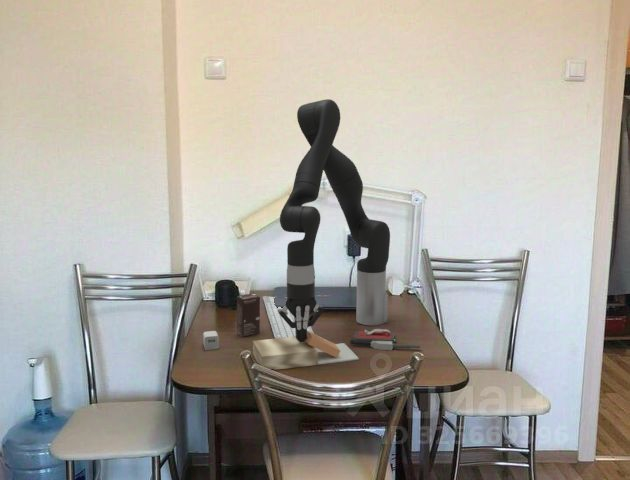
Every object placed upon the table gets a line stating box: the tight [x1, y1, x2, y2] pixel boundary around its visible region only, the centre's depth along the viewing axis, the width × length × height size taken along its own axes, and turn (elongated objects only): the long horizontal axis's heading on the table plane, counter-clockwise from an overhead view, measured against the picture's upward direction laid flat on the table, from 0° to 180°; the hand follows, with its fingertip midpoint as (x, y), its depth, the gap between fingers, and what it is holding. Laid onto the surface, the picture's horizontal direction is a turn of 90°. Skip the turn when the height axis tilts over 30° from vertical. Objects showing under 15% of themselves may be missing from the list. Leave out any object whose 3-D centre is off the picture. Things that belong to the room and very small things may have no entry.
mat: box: [316, 342, 360, 365], centre depth 168 cm, size 12×12×1 cm
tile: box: [306, 331, 340, 358], centre depth 165 cm, size 9×6×2 cm, turn 105°
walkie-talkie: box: [349, 328, 421, 351], centre depth 175 cm, size 9×4×20 cm
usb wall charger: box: [202, 330, 220, 351], centre depth 174 cm, size 4×7×4 cm, turn 15°
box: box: [236, 293, 261, 338], centre depth 183 cm, size 6×4×12 cm
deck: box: [252, 336, 318, 371], centre depth 164 cm, size 15×12×4 cm
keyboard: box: [262, 295, 315, 339], centre depth 198 cm, size 44×12×2 cm, turn 9°
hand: (301, 341), depth 165 cm, fingers closed
